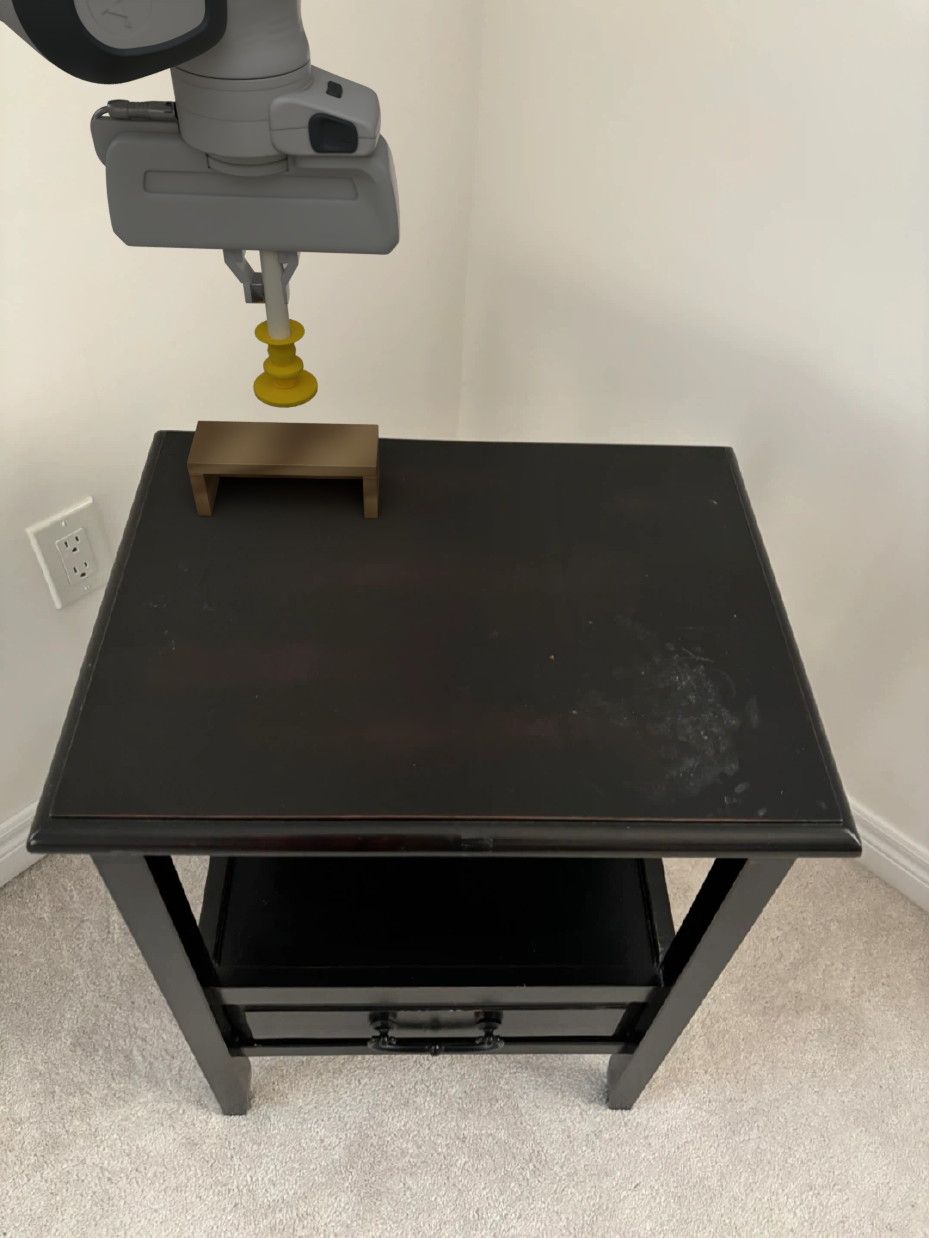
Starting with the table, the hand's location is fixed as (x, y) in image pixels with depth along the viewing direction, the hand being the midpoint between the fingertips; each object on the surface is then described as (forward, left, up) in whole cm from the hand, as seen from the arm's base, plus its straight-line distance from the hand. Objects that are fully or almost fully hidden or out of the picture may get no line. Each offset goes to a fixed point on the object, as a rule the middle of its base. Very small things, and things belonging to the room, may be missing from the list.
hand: (268, 300), depth 71 cm
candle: (+1, 0, -8) cm, 8 cm away
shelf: (0, 0, -20) cm, 20 cm away
